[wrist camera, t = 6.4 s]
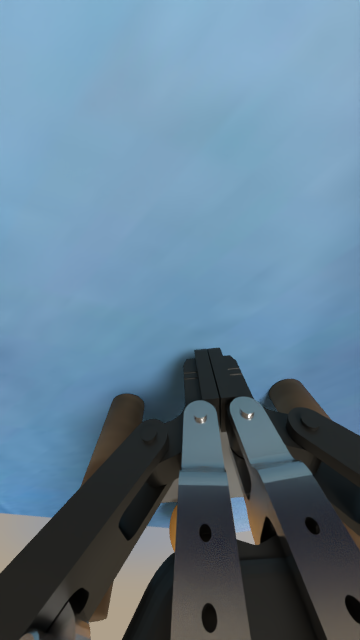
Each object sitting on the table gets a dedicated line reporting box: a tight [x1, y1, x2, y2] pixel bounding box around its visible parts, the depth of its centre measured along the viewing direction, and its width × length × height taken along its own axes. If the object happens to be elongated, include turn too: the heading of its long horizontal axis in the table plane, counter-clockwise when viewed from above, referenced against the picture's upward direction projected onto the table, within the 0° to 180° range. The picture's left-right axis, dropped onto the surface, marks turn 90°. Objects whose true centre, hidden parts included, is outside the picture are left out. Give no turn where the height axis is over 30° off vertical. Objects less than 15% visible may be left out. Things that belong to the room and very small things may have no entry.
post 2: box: [269, 379, 360, 550], centre depth 10 cm, size 3×3×9 cm
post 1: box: [80, 394, 145, 622], centre depth 11 cm, size 3×3×9 cm
